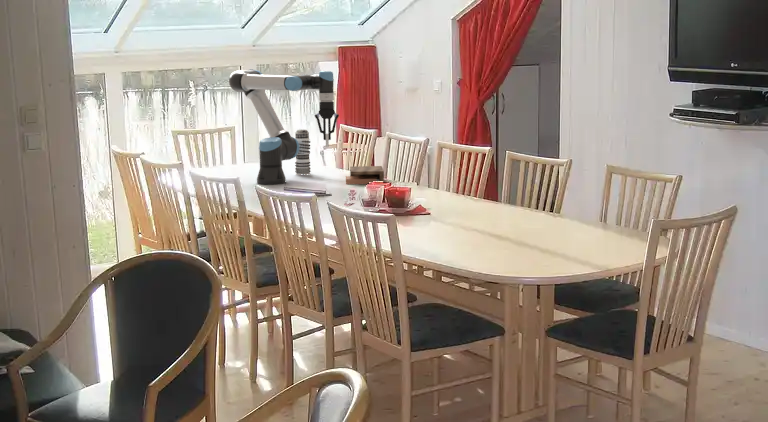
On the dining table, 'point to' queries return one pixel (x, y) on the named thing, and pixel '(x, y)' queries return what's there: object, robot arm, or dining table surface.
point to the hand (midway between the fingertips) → (327, 146)
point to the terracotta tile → (360, 179)
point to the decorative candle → (302, 152)
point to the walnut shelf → (368, 171)
